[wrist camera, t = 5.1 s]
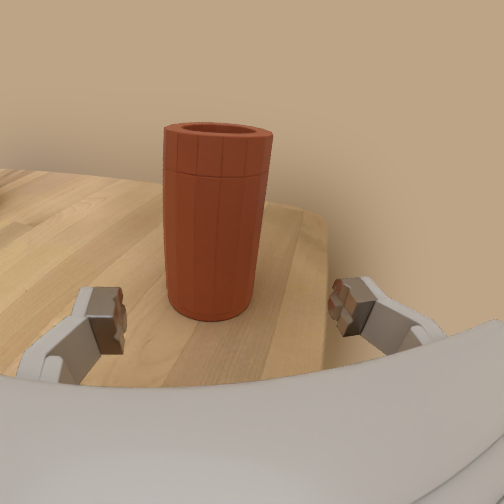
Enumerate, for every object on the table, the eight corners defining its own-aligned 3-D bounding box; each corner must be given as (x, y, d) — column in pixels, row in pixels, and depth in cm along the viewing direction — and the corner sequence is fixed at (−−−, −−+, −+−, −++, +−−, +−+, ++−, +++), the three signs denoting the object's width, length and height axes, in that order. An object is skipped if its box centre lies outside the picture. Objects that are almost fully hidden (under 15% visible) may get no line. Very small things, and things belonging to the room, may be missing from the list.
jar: (228, 334, 17) (245, 140, 12) (151, 300, 19) (141, 129, 13) (263, 284, 22) (286, 131, 16) (196, 261, 24) (202, 120, 18)
